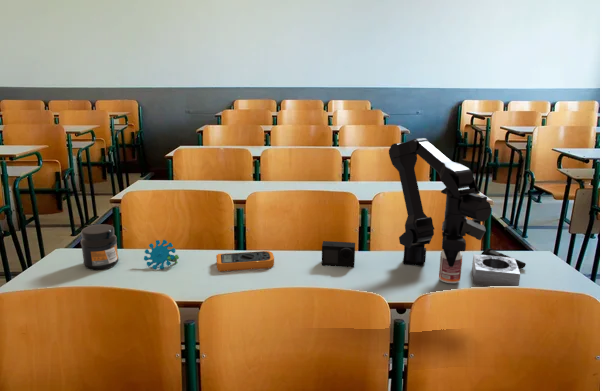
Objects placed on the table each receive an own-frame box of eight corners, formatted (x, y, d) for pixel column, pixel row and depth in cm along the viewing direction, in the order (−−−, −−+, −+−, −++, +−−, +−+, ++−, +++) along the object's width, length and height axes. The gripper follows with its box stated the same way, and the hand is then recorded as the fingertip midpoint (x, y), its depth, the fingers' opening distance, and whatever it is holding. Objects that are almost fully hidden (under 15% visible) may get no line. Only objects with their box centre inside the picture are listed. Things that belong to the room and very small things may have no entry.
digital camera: (320, 267, 162) (321, 246, 160) (322, 260, 167) (322, 240, 165) (353, 269, 161) (354, 248, 159) (354, 262, 166) (355, 242, 164)
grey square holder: (474, 285, 150) (475, 269, 148) (471, 268, 161) (473, 254, 160) (518, 290, 147) (520, 274, 146) (512, 273, 158) (514, 258, 157)
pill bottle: (464, 283, 150) (467, 246, 147) (444, 285, 149) (448, 248, 146) (453, 274, 156) (456, 239, 153) (434, 276, 155) (437, 240, 151)
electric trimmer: (519, 273, 159) (520, 264, 158) (479, 256, 172) (480, 247, 171) (527, 271, 161) (528, 261, 160) (487, 254, 174) (488, 245, 173)
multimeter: (275, 269, 161) (275, 259, 160) (217, 273, 158) (216, 263, 157) (272, 259, 169) (271, 249, 168) (216, 262, 166) (216, 252, 165)
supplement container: (119, 268, 161) (115, 232, 157) (82, 273, 157) (78, 236, 154) (118, 256, 170) (115, 222, 167) (84, 260, 167) (80, 225, 164)
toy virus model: (138, 264, 160) (150, 235, 164) (144, 271, 165) (155, 243, 170) (170, 272, 158) (182, 242, 163) (176, 278, 163) (187, 250, 168)
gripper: (488, 224, 136) (482, 278, 140) (482, 204, 153) (477, 253, 158) (444, 220, 139) (439, 274, 143) (444, 201, 156) (440, 249, 160)
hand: (450, 262), depth 151 cm, fingers closed on pill bottle, 6 cm apart
